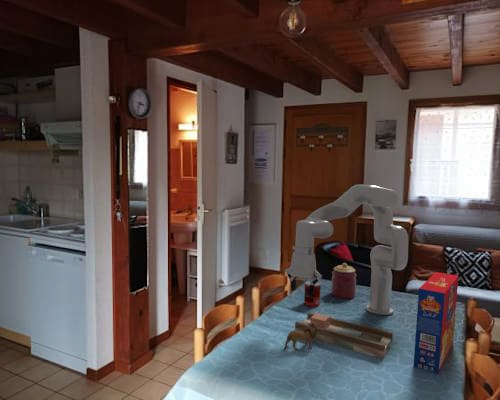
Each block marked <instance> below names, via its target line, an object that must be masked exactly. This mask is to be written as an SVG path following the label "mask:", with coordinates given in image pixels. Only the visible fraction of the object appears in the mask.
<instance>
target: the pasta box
mask: <svg viewBox="0 0 500 400" xmlns="http://www.w3.org/2000/svg"><path fill="white" fill-rule="evenodd" d="M458 284H459V275H457V274H456V275H455V274H450V273H443V272H440V271H435V272H434V273H433V274H432V275H431V276H430V277H429V278H428V279H427V280H426V281H425V282H424V283H423V284H422V285H421V286H419V288H418V296H417V298H418V299H417V312H416V313H417V314H416V325H415V326H416V327H415V339H414V341H415V342H414V355H413V356H414V357H413V368H416V369H419V370H422V369H423V370H422V371H425V370H426V372H428V371H429V373H432V372H433V374H435V373H436V374H435V375H438V374H440V373H441V371H442V369H443V367H442V366H444V365H443V364H445V363H444V362H446V361H447V359H446V358H448V356H449V354H450V353H451V351H452V348H453V346H454V336H455V325H456V323H455V322H456V313H457V311H456V310H457V300H458V298H457V297H458V289H459V288H458ZM445 360H446V361H445ZM441 368H442V369H441ZM440 370H441V371H440ZM439 372H440V373H439Z"/></svg>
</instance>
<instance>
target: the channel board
mask: <svg viewBox="0 0 500 400" xmlns="http://www.w3.org/2000/svg"><path fill="white" fill-rule="evenodd" d="M315 314H316V313H315V312H310V311H309V312H307V317H306V318H304V319H303V320H302V322H301V321H295V322H294V331H304V330H305V329H306V328H307V327H308V324H309V323H311V317H312V316H313V315H315ZM313 340H314V341H317V342H319V343H324V344H328V345H331V346H335V347H339V348H342V349H346V350H350V351H354V352H356V353H360V354H363V355H367V356H371V357H374V358H377V359H381V360H384V358H385V357H386V355H387V353H388V352H389V350H390V349H391V347H392V345H393V332H392V331H389V330H386V329H385V330H384V329H380V328H376V327H371V326H368V325H366V324H365V325H364V324H359V323H355V322H351V321H347V320H343V319H338V318H335V317H331V316H330V326H329V327H328V328H327V329H324V328H320V327H318V332H317V335H316V337H315V338H314V339H312V341H313Z"/></svg>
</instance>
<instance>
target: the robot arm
mask: <svg viewBox="0 0 500 400" xmlns="http://www.w3.org/2000/svg"><path fill="white" fill-rule="evenodd" d="M398 202H399V195H398V193H397V192H396V191H395V190H394V189H389V188H385V187H380V186H377V185H372V184H354V185H353V186H351V187H350V188H349V189H348V190H346V191H345V192H344V193H343V194H342V195H341V196H339V197H338V199H336V200H334V201H333V202H331V203H327V204H325V205H324V206H321V207H318V209H316V210H314V211H313V212H311V213H310V214H309V215H308V216H307V217H306V218H305V219H302V220H298V221H297V222H296V225H295V245H292V247H291V248H292V250H294V251H293V252H292V256H291V261H290V266H289V267H288V268H285V270H284V272H285V274H286V275H287V277H288V279H289V281H290V288H291V289H290V291H292V292H293V291H295V290H296V289H297V280H296V279H297V278H300V279H304V280H308V281H310V284H311V285H309V294H310V295H311V294H313V292H314V290H315V284H316V283H317V282H320V280H321V279H322V278H323V275H322V274H321V273H320V272H319V271H318V270H317V262H316V254H315V253H314V249H315V248H314V245H315V238H317V239H328V238H329V237H331V236H332V235H333V233H334V226H333V224H332V222H330V221H333V220H337V219H343V218H347V217H349V216H350V215H351V214H353V213H354V212H355V211H356V210H357V208H359V207H360V206H361V205H368V206H369V207H370V209H371V211H372V212H373V237H374V240H375V241H376V242H377V243H380V244H384V245H379V244H378V245H375V246H373V247H372V248H371V251H370V256H369V258H370V266H371V271H370V272H371V275H370V288H369V303H368V304H367V305H365V309H366V311H367V312H369V313H371V314H375V315H380V316H390V315H392V314H393V313H394V308H393V307H392V306H391V301H392V299H391V298H392V286H393V273H392V270H394V271H402V270H404V269H405V268H406V267H407V264H408V259H409V234H408V232H407V229H406V228H404V227H403V226H400V225H394V224H395V223H394V213H393V210H392V208H395V207H396V206H397V205H398ZM386 245H388V246H386ZM315 277H316V278H315Z"/></svg>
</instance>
